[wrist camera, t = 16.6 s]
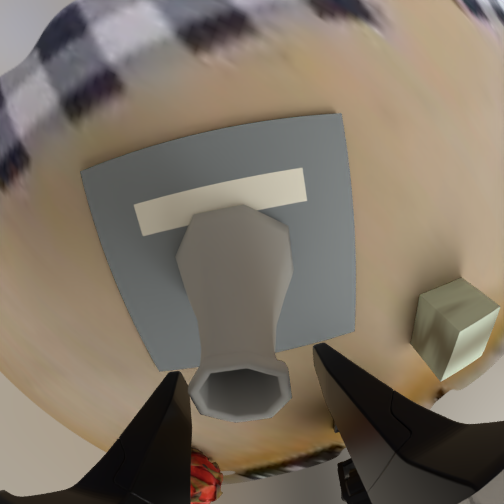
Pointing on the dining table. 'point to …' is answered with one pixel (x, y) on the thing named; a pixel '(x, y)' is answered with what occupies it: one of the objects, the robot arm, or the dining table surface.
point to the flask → (237, 310)
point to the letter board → (222, 196)
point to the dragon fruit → (204, 479)
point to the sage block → (453, 326)
